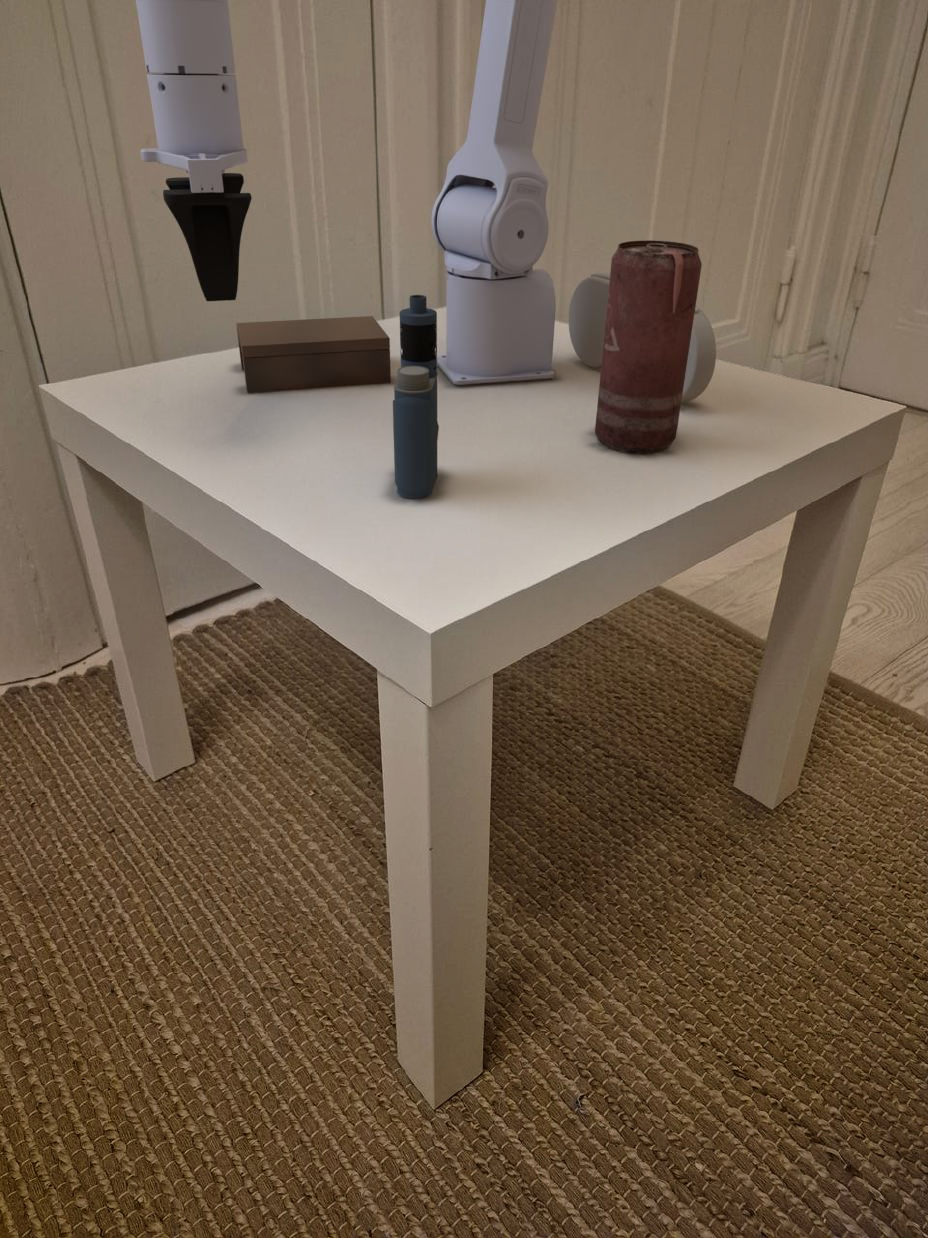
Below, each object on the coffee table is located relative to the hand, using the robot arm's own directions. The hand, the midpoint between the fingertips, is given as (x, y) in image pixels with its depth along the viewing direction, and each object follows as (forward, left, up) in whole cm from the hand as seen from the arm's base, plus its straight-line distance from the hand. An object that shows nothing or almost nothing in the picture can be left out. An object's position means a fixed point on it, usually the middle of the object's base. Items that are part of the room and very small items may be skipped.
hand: (219, 288), depth 66 cm
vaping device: (-11, +17, -10) cm, 23 cm away
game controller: (-35, -1, -10) cm, 37 cm away
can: (-29, +13, -10) cm, 33 cm away
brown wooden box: (-8, -10, -10) cm, 16 cm away
